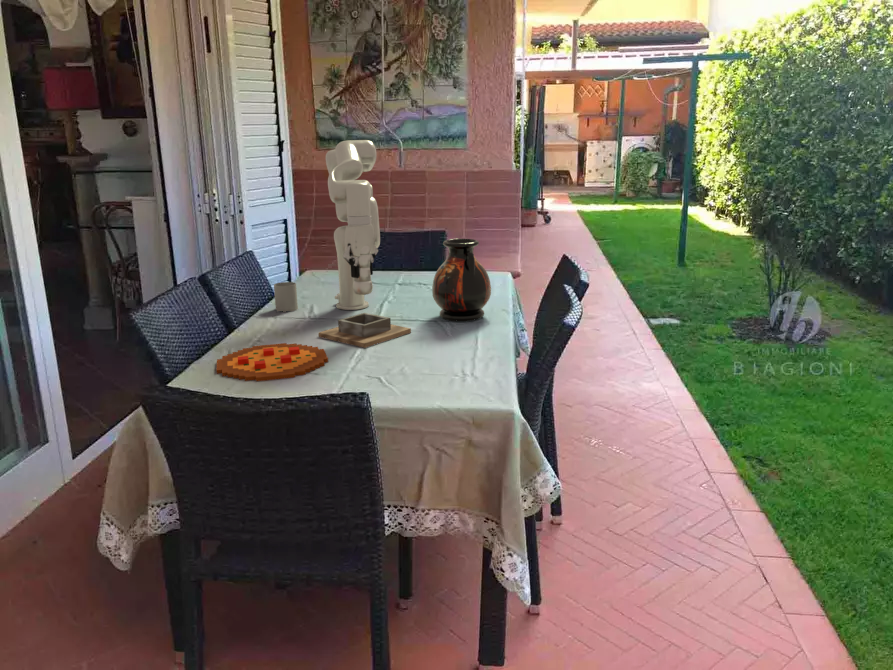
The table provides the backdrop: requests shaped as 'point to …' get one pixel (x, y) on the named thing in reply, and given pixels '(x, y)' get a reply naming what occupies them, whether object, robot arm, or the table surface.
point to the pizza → (271, 362)
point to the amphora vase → (461, 283)
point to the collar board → (364, 330)
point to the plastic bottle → (363, 273)
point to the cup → (285, 296)
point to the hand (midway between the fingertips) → (362, 275)
